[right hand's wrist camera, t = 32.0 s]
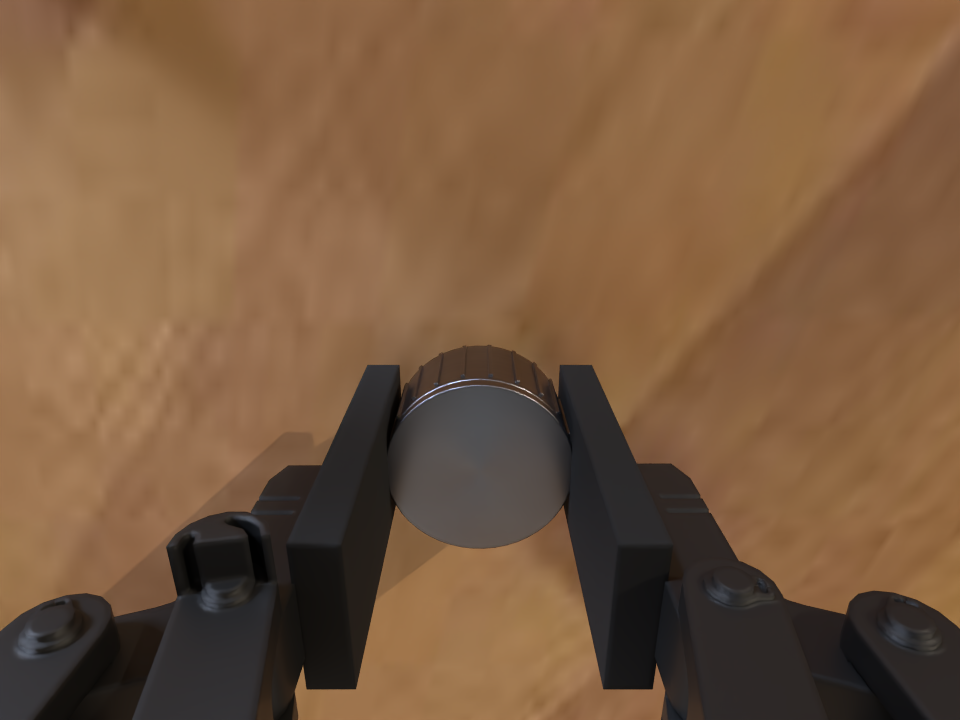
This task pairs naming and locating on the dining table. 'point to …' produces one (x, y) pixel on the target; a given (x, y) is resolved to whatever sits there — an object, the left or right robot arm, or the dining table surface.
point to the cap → (479, 449)
